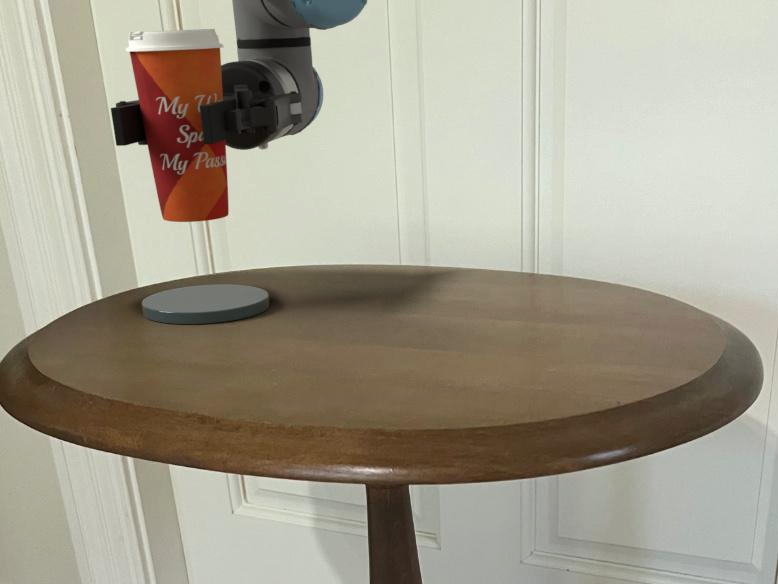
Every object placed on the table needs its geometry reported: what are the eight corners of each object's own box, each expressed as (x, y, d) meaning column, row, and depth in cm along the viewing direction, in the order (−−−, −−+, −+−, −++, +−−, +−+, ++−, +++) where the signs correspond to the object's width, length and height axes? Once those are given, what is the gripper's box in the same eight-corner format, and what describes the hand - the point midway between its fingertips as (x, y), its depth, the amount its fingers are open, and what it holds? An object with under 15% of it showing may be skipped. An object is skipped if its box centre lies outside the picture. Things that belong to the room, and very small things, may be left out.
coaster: (119, 321, 92) (117, 309, 92) (179, 293, 102) (178, 282, 101) (237, 327, 90) (236, 315, 89) (288, 297, 99) (287, 286, 98)
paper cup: (179, 227, 87) (153, 31, 80) (133, 218, 92) (105, 32, 86) (260, 214, 91) (242, 27, 85) (212, 206, 97) (191, 29, 90)
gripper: (351, 144, 104) (287, 175, 84) (159, 147, 107) (54, 179, 87) (347, 57, 101) (278, 68, 81) (148, 63, 104) (35, 75, 84)
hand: (162, 125), depth 84 cm, fingers closed on paper cup, 6 cm apart
